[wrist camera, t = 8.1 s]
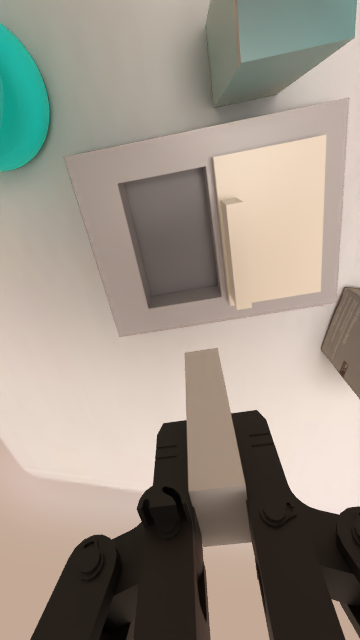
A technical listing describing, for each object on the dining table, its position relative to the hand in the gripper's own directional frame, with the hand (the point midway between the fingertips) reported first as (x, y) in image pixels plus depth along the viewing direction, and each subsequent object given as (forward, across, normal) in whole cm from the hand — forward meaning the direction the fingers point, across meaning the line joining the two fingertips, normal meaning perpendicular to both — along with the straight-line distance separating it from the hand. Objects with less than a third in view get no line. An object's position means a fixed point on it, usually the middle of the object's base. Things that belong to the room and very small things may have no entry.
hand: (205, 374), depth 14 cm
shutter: (+14, +7, +3) cm, 16 cm away
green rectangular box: (+18, +6, +15) cm, 24 cm away
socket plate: (+18, +2, +3) cm, 18 cm away
